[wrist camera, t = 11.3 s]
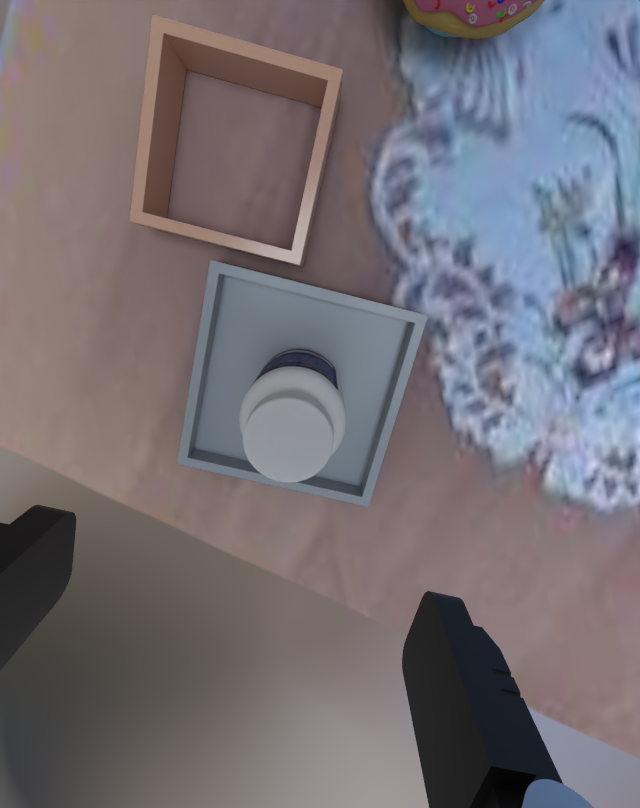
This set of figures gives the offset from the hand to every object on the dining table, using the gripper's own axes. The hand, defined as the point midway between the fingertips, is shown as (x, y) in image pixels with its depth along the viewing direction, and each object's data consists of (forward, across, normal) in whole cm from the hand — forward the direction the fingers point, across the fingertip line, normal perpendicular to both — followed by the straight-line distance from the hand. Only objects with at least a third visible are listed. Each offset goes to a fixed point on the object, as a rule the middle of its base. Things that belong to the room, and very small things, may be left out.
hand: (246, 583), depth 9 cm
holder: (+20, +6, -12) cm, 24 cm away
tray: (+19, 0, 0) cm, 19 cm away
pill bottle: (+19, 0, 0) cm, 19 cm away
